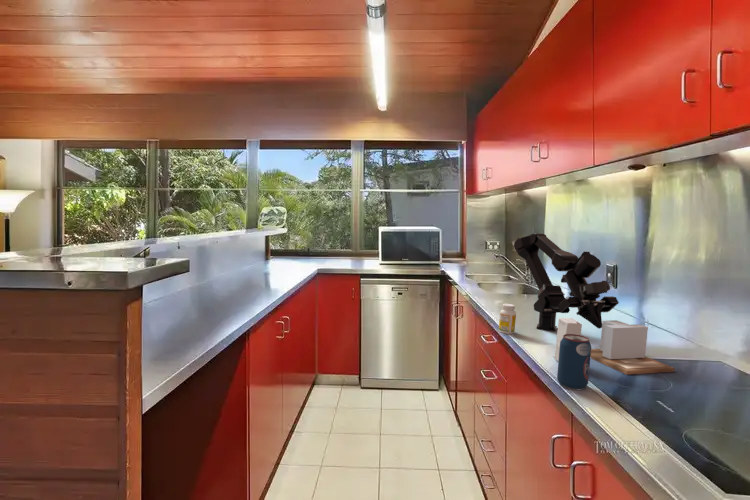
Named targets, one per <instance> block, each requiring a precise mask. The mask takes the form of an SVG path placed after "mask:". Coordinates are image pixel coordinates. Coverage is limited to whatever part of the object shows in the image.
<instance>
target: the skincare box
mask: <svg viewBox="0 0 750 500" xmlns="http://www.w3.org/2000/svg"><path fill="white" fill-rule="evenodd" d="M582 327H583V324H582V323H581V322H579V321H578V320H576V319H574V318H571V317H559V318H558V325H557V331H556V332H557V333H556V334H557V335H556V342H555V351H554V359H555V361H557V362H558V361H559V349H560V341H561V340H562V338H563V335H565V334H576V335H581V336H582Z"/></svg>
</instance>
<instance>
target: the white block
mask: <svg viewBox="0 0 750 500" xmlns="http://www.w3.org/2000/svg"><path fill="white" fill-rule="evenodd" d="M648 328H649V327H648V326H645V325H642V324H640V323H639V324H628V323H627V322H623V321H620V320H616V319H615V320H612V319H610V320H602V328H601V331H600V333H601V334H600V345H599V349H600V350H601V351H603V355H602V356H604V357H606V358H608V359H627V358H645V357H646V349H647V340H648V331H649V329H648Z"/></svg>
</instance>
